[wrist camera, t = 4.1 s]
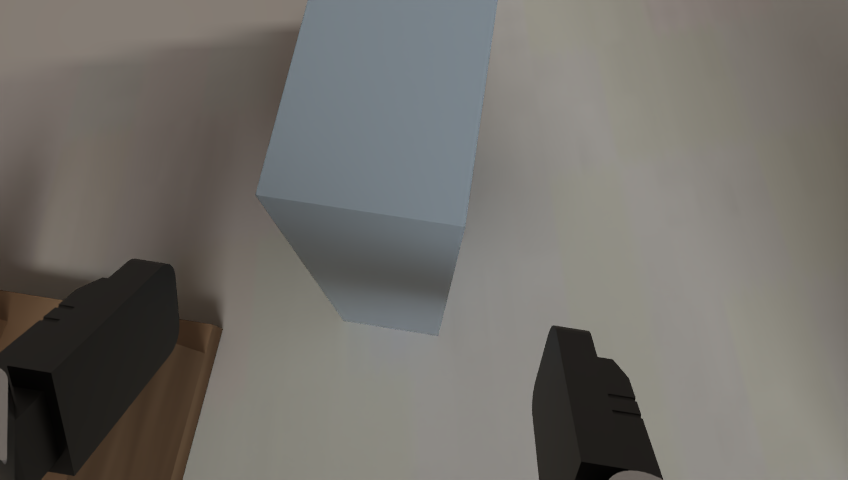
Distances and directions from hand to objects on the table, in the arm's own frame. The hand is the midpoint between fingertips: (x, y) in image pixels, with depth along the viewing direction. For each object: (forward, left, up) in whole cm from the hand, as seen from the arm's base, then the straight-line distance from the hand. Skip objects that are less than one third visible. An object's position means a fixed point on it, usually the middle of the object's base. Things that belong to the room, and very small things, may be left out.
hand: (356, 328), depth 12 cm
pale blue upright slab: (0, -5, -9) cm, 10 cm away
